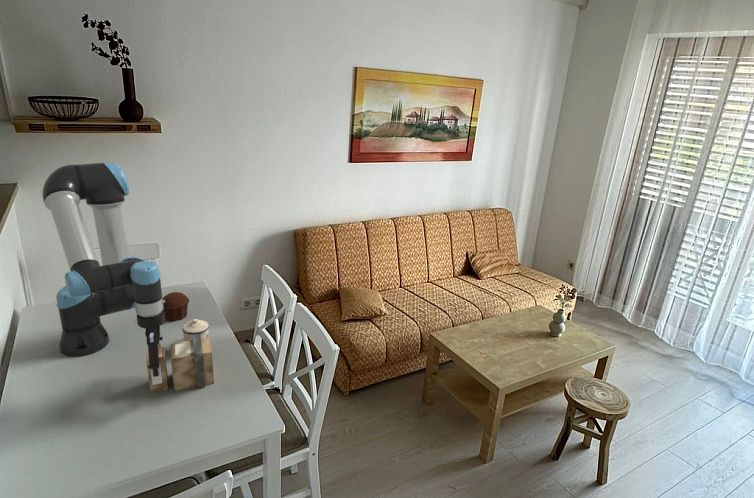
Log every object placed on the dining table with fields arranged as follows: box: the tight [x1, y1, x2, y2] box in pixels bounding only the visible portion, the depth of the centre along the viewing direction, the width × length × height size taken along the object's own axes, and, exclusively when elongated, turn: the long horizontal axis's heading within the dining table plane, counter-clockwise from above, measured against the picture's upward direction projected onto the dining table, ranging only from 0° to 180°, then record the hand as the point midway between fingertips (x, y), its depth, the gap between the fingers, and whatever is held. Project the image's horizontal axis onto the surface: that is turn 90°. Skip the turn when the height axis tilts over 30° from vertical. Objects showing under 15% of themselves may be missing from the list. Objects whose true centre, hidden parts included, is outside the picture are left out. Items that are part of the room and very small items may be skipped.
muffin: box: [162, 291, 190, 322], centre depth 187 cm, size 12×11×10 cm
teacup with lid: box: [181, 318, 210, 342], centre depth 167 cm, size 12×9×12 cm
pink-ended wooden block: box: [145, 346, 169, 393], centre depth 145 cm, size 5×6×12 cm
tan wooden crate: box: [170, 334, 215, 391], centre depth 149 cm, size 12×12×13 cm
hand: (157, 371), depth 145 cm, fingers open, 13 cm apart
